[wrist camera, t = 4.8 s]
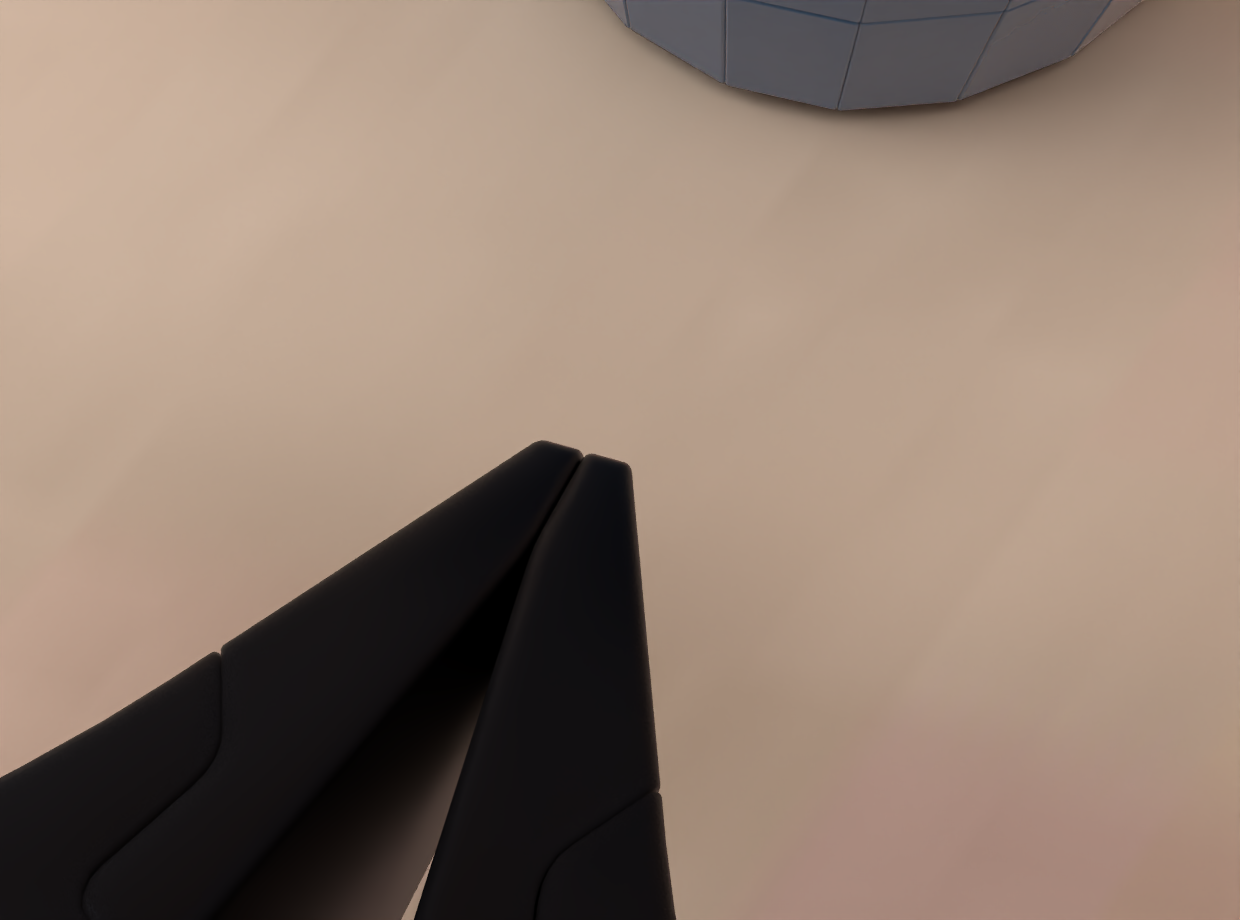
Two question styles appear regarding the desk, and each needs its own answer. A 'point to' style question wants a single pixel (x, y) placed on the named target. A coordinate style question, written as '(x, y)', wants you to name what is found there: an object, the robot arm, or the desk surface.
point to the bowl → (870, 44)
